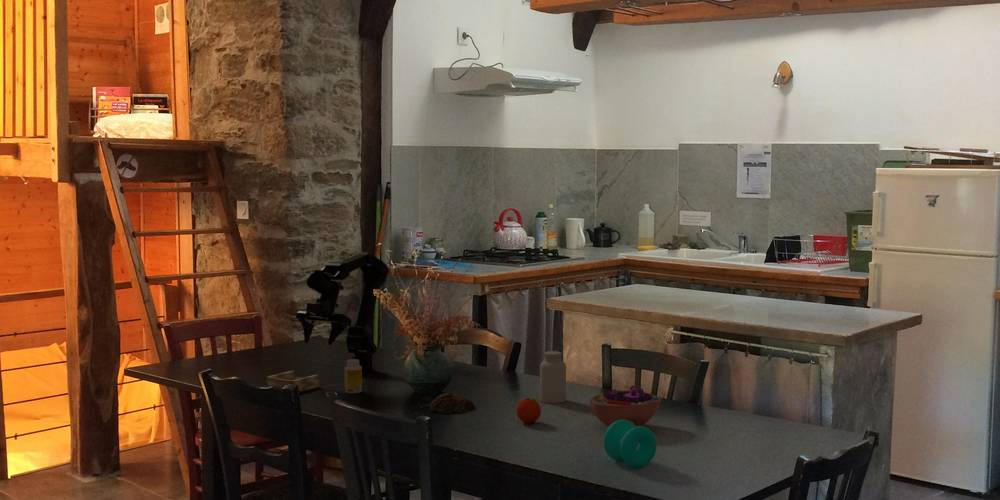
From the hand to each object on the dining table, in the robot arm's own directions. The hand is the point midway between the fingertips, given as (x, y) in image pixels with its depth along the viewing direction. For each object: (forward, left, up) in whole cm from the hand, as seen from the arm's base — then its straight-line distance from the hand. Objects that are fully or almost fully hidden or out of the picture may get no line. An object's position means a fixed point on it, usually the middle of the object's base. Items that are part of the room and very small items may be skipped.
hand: (317, 343), depth 336 cm
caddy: (+9, 0, -14) cm, 16 cm away
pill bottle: (-58, +53, -14) cm, 80 cm away
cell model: (-61, +89, -14) cm, 109 cm away
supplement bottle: (-7, +14, -14) cm, 21 cm away
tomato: (-40, +73, -14) cm, 85 cm away
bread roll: (-26, +48, -14) cm, 57 cm away
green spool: (-44, +118, -14) cm, 127 cm away
